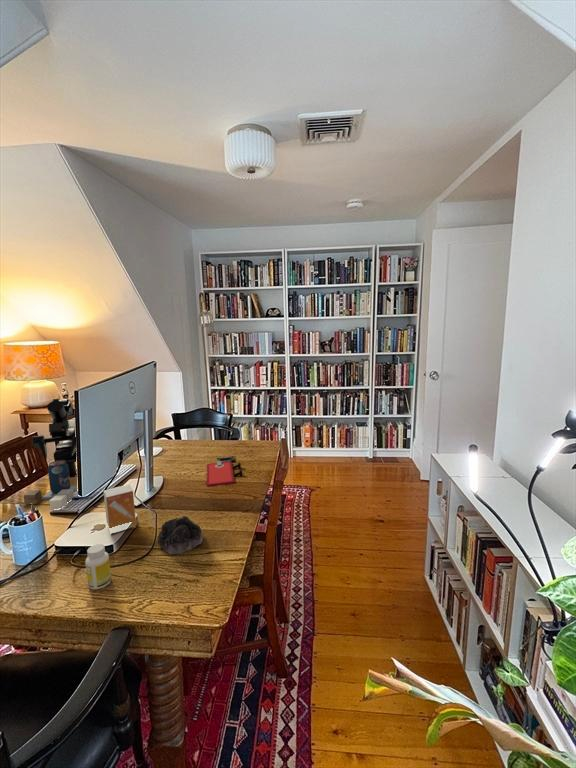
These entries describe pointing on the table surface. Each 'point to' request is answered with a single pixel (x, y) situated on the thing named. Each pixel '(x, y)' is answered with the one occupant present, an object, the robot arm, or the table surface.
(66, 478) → the soda can
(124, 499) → the small box
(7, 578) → the table surface
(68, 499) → the grey block
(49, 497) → the slate tile
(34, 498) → the walnut block
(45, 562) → the table surface
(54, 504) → the off-white block
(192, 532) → the crystal cluster
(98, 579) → the supplement bottle
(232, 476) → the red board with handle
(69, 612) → the table surface
